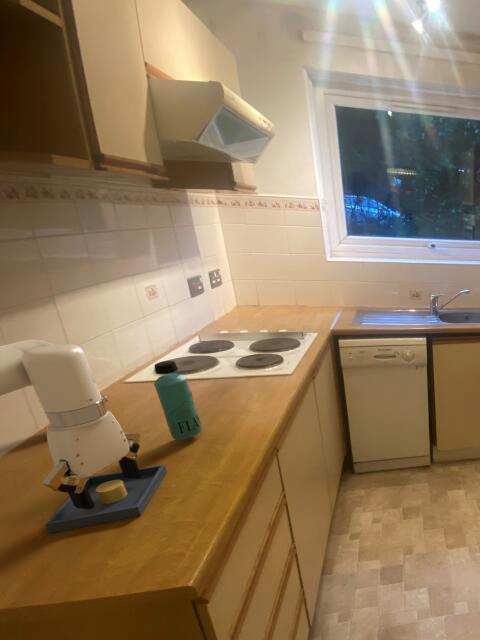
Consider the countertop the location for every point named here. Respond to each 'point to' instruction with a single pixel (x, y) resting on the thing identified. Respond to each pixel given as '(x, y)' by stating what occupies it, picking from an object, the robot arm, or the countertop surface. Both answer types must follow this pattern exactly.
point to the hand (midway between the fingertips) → (110, 491)
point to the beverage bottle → (177, 401)
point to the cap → (111, 491)
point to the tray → (122, 509)
